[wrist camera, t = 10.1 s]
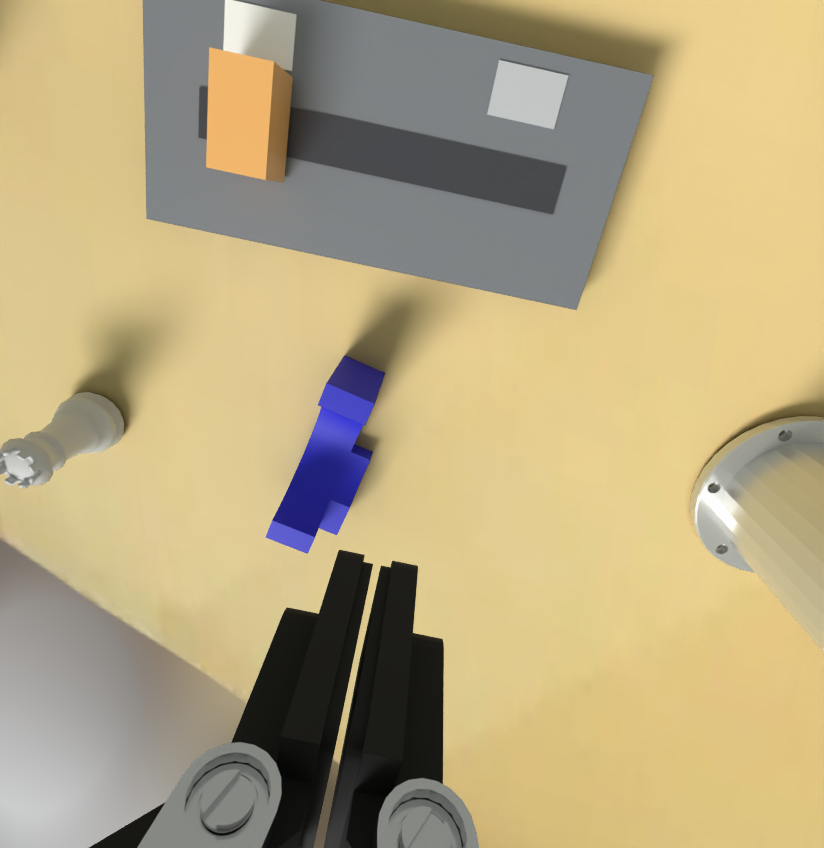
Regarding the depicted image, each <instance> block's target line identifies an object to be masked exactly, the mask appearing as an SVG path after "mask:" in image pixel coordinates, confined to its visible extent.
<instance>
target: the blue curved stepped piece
mask: <svg viewBox="0 0 824 848" xmlns="http://www.w3.org/2000/svg"><path fill="white" fill-rule="evenodd" d="M384 375H385V373H384V372H381V371H379V370H377V369H375V368H372V367H370V366H368V365H365V364H363V363H361V362H359V361H356V360H354V359H352V358H350V357H347V356H344V357H343V359H342V360H341V362H340V363H339V365H338V366H337V368H336V370H335V371H334V373H333V374H332V376H331V377H330V379H329V380H328V382H327V383H326V386H325V388H324V391H323V394H322V396H321V399H320V401H319V404H318V405H319V406H321V410H320V413H319V416H318V419H317V422H316V425H315V427H314V430H313V432H312V435H311V437H310V440H309V442H308V445H307V447H306V449H305V452H304V454H303V457H302V459H301V461H300V463H299V466H298V468H297V470H296V472H295V475H294V477H293V479H292V481H291V483H290V486H289V488H288V490H287V492H286V494H285V496H284V498H283V500H282V502H281V504H280V507H279V509H278V511H277V512H276V514H275V516H274V518H273V520H272V523H271V525H270V528H269V530H268V533H267V535H266V538H268V539H271V540H274V541H276V542H279V543H281V544H284V545H286V546H289V547H292V548H294V549H297V550H299V551H302V552H304V553H307V554H308V552H309V549H310V547H311V545H312V543H313V541H314V538H315V536H316V533H317V531H318V528H320V529H323V530H325V531H328V532H330V533H333V534H335V535H337V534H338V532H339V529H340V527H341V525H342V523H343V521H344V519H345V517H346V515H347V512H348V510H349V508H350V506H351V503H352V501H353V498H354V496H355V493H356V491H357V489H358V486H359V484H360V482H361V479H362V477H363V475H364V473H365V470H366V468H367V466H368V464H369V461H370V459H371V455H372V451H369V450H367V449H365V448H362V447H360V446H357V445H355V444H354V443H355V441H356V439H357V437H358V435H359V433H360V430H361V428H362V426H363V425H365V424H366V422H367V420H368V417H369V415H370V413H371V411H372V408H373V406H374V404H375V401H376V398H377V395H378V392H379V389H380V387H381V384H382V381H383V378H384Z"/></svg>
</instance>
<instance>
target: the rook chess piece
mask: <svg viewBox="0 0 824 848" xmlns="http://www.w3.org/2000/svg"><path fill="white" fill-rule="evenodd" d="M123 434H124V420H123V417H122V415H121V412H120V410H119V409H118V408H117V407H116V406H115V404H114V403H113V402H111V401H110V400H108V399H107V398H105V397H103V396H101V395H98V394H94V393H91V392H83V393H77V394H75V395H73V396H72V397H70V398H69V399H68V400H66V401H64V402H63V403H61V404H60V406H59V407H58V409H57V411H56V413H55V415H54V417H53V419H52V422H51V423H50V424H49V425H47V426H46V427H45V428H44V429H42V430H41V431H39V432H31V433H29V434H28V435H26V436H25V438H24V439H21V438H19V439H10V440H8V441H7V442H5V443H4V444H3V445H2V448H1V450H0V474H2V473H5V474H6V475H7V476H8V478H7V479H6V480H5V481H4V482H5V483H7V484H8V485H10V486H12V485H14V484H15V483H19V484H18V485H19V488H27V487H29V486H30V485H32V486H34V485H43V484H44V483H46V482H48V481H49V480H50V478H51V476H52V474H53V470H58V469H60V468H61V467H63V465H64V464H65V462H66V460H67V459H69V458H72V457H74V456H76V455H78V454H84V453H97V452H102V451H104V450H106V449H107V448H109V447H111V446H113V445H114V444H116V443H118V442H119V441H120V439H121V437H122V436H123Z"/></svg>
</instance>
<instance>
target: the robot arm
mask: <svg viewBox="0 0 824 848" xmlns="http://www.w3.org/2000/svg"><path fill="white" fill-rule="evenodd" d="M690 515H691V522H692V526H693V528H694V530H695V533H696V535H697V537H698V538H699V539H700V541H701V542H702V543H703V545H704V546H705V548H706V549H707V550H708V551H709V552H710V553H711V554H712V555H713V556H714V557H715V558H717V559H719V560H720V561H722V562H723V563H725V564H726V565H729V566H731V567H734V568H736V569H739V570H743V571H748V572H753V573H756V574H757V575H758V576H759V578H760V579H761V580H762V581H763V582H764V584H765V585H766V586H767V587H768V588H769V590H770V591H771V592H772V593H773V594H774V595H775V597H776V598H777V599H778V600H779V601H780V603H781V604H782V605H783V606H784V607H785V609H786V610H787V611H788V612H789V613H790V614H791V616H792V617H793V618H794V619H795V620H796V622H797V623H798V624H799V625H800V626H801V627H802V629H803V630H804V631H805V632H806V633H807V635H808V636H809V637H810V638H811V639H812V641H813V642H814V643H815V644H816V645H817V646H818V648H819V649H820V650H821V651H822V652H823V654H824V417H819V416H797V417H790V418H782V419H778V420H775V421H772V422H768V423H765V424H762V425H760V426H757V427H755V428H753V429H751V430H749V431H747V432H744V433H743V434H741V435H740V436H738V437H737V438H735V439H734V440H732V441H731V442H729V443H728V444H727V445H725V446H724V447H723V448H722V449H721V450H720V451H719V452H718V453H716V454H715V455H714V456H713V458H712V459H711V460H710V461H709V463H708V464H707V465H706V466H705V467H704V469H703V471H702V472H701V474H700V476H699V478H698V480H697V481H696V483H695V486H694V490H693V493H692V496H691V504H690ZM363 560H364V555H362V554H357V553H352V552H348V551H343V550H339V552H338V555H337V558H336V561H335V564H334V567H333V571H332V574H331V577H330V580H329V583H328V586H327V590H326V593H325V596H324V599H323V602H322V606H321V609H320V612H319V614H317V613H312V612H307V611H302V610H297V609H292V608H286V610H285V611H284V613H283V616H282V618H281V620H280V623H279V625H278V628H277V630H276V633H275V635H274V638H273V640H272V643H271V645H270V648H269V650H268V653H267V655H266V658H265V660H264V663H263V665H262V668H261V670H260V673H259V675H258V678H257V680H256V683H255V685H254V688H253V690H252V693H251V695H250V698H249V700H248V703H247V705H246V708H245V710H244V713H243V715H242V718H241V720H240V723H239V725H238V728H237V730H236V733H235V735H234V738H233V740H232V742H231V743H228V744H223V745H220V746H218V747H216V748H213V749H211V750H208V751H207V752H206V753H204V754H203V755H202V756H200V757H199V758H198V759H196V760H195V761H194V762H193V763H192V764H191V766H190V767H189V768H188V769H187V770H186V772H185V773H184V774H183V775H182V777H181V779H180V780H179V782H178V783H177V785H176V787H175V788H174V790H173V791H172V793H171V795H170V796H169V798H168V799H167V801H166V802H165V803H163V804H162V805H160V806H158V807H157V808H155V809H153V810H152V811H150V812H148V813H147V814H145V815H143V816H142V817H140V818H138V819H137V820H135V821H133V822H131V823H130V824H128V825H126V826H125V827H123V828H121V829H120V830H118V831H117V832H115V833H113V834H111V835H110V836H108V837H106V838H105V839H103V840H101V841H100V842H98V843H97V844H94V845H93V846H91V847H89V848H313V847H314V842H315V837H316V832H317V828H318V823H319V819H320V814H321V810H322V805H323V801H324V796H325V791H326V787H327V782H328V778H329V773H330V768H331V764H332V759H333V755H334V750H335V745H336V741H337V736H338V731H339V726H340V722H341V717H342V712H343V707H344V702H345V697H346V692H347V688H348V683H349V678H350V673H351V668H352V663H353V659H354V654H355V649H356V644H357V639H358V634H359V629H360V625H361V620H362V615H363V610H364V605H365V600H366V595H367V591H368V586H369V581H370V576H371V571H372V566H373V564H370V563H365V562H363ZM417 573H418V566H415V565H411V564H406V563H401V562H396V561H392V564H391V568H390V567H385V566H381V568H380V572H379V577H378V581H377V586H376V590H375V595H374V599H373V604H372V608H371V613H370V617H369V621H368V626H367V630H366V635H365V639H364V644H363V648H362V653H361V657H360V662H359V667H358V672H357V677H356V682H355V687H354V692H353V698H352V703H351V708H350V713H349V718H348V724H347V729H346V734H345V739H344V744H343V750H342V755H341V760H340V765H339V771H338V776H337V781H336V787H335V791H334V797H333V802H332V807H331V812H330V818H329V823H328V828H327V833H326V839H325V843H324V848H479V845H478V839H477V833H476V830H475V826H474V823H473V820H472V816H471V814H470V813H469V811H468V809H467V808H466V806H465V804H464V803H463V801H462V800H461V799H460V798H459V797H458V796H457V795H456V794H455V793H454V792H453V791H452V790H451V789H450V788H448V787H447V786H445V785H443V669H444V647H443V640H442V639H439V638H434V637H430V636H425V635H420V634H415V633H413V623H414V611H415V598H416V586H417Z"/></svg>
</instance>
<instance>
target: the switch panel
mask: <svg viewBox="0 0 824 848" xmlns="http://www.w3.org/2000/svg"><path fill="white" fill-rule="evenodd" d="M143 42H144V98H145V154H146V209H147V219H150V220H155V221H159V222H164V223H169V224H174V225H178V226H183V227H188V228H192V229H197V230H202V231H207V232H211V233H216V234H221V235H225V236H230V237H235V238H240V239H244V240H249V241H254V242H258V243H263V244H268V245H272V246H277V247H282V248H287V249H291V250H296V251H301V252H305V253H310V254H315V255H320V256H324V257H329V258H334V259H338V260H343V261H348V262H353V263H357V264H362V265H367V266H371V267H376V268H381V269H386V270H390V271H395V272H400V273H404V274H409V275H414V276H419V277H423V278H428V279H433V280H437V281H442V282H447V283H452V284H456V285H461V286H466V287H470V288H475V289H480V290H484V291H489V292H494V293H499V294H503V295H508V296H513V297H517V298H522V299H527V300H532V301H536V302H541V303H546V304H550V305H555V306H560V307H565V308H569V309H574V310H577V307H578V304H579V301H580V298H581V295H582V292H583V289H584V286H585V283H586V280H587V277H588V274H589V271H590V268H591V265H592V262H593V259H594V256H595V253H596V250H597V247H598V244H599V241H600V238H601V235H602V232H603V229H604V226H605V223H606V220H607V216H608V213H609V210H610V207H611V204H612V201H613V198H614V195H615V192H616V189H617V186H618V183H619V180H620V177H621V174H622V171H623V168H624V165H625V162H626V159H627V156H628V153H629V150H630V147H631V144H632V141H633V138H634V135H635V132H636V129H637V126H638V123H639V120H640V116H641V113H642V110H643V107H644V104H645V101H646V98H647V95H648V92H649V89H650V86H651V83H652V80H653V77H654V75H649V74H645V73H640V72H636V71H632V70H627V69H623V68H618V67H614V66H609V65H605V64H601V63H596V62H592V61H587V60H583V59H578V58H574V57H569V56H565V55H561V54H556V53H552V52H547V51H543V50H538V49H534V48H530V47H525V46H521V45H516V44H512V43H507V42H503V41H499V40H494V39H490V38H485V37H481V36H476V35H472V34H468V33H463V32H459V31H454V30H450V29H445V28H441V27H436V26H432V25H428V24H423V23H419V22H414V21H410V20H405V19H401V18H397V17H392V16H388V15H383V14H379V13H374V12H370V11H366V10H361V9H357V8H352V7H348V6H343V5H339V4H335V3H330V2H326V1H321V0H143ZM209 47H211V48H215V49H220V50H224V51H229V52H233V53H238V54H242V55H247V56H251V57H256V58H260V59H265V60H269V61H274V62H275V63H276V64H277V65H279V66H280V67H281V68H282V69H283V70H285V71H286V72H287V73H288V74H289V75H291V76H292V77H293V82H292V94H291V106H290V118H289V130H288V142H287V154H286V166H285V178H284V182H276V181H269V180H263V179H258V178H254V177H249V176H244V175H240V174H235V173H230V172H226V171H221V170H216V169H212V168H207V167H206V152H207V113H208V75H209Z"/></svg>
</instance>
